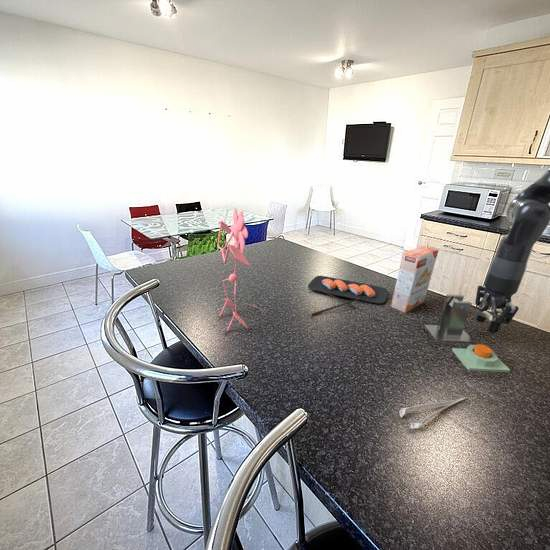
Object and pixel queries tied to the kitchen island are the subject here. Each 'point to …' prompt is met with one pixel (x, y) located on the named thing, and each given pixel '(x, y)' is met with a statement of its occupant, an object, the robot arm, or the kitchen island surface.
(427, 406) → the tweezers
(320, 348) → the kitchen island surface
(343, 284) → the sushi plate
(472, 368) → the button block
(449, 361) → the kitchen island surface
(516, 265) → the robot arm
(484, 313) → the lever
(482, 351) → the button
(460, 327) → the bracket
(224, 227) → the figurine
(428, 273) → the cracker box
